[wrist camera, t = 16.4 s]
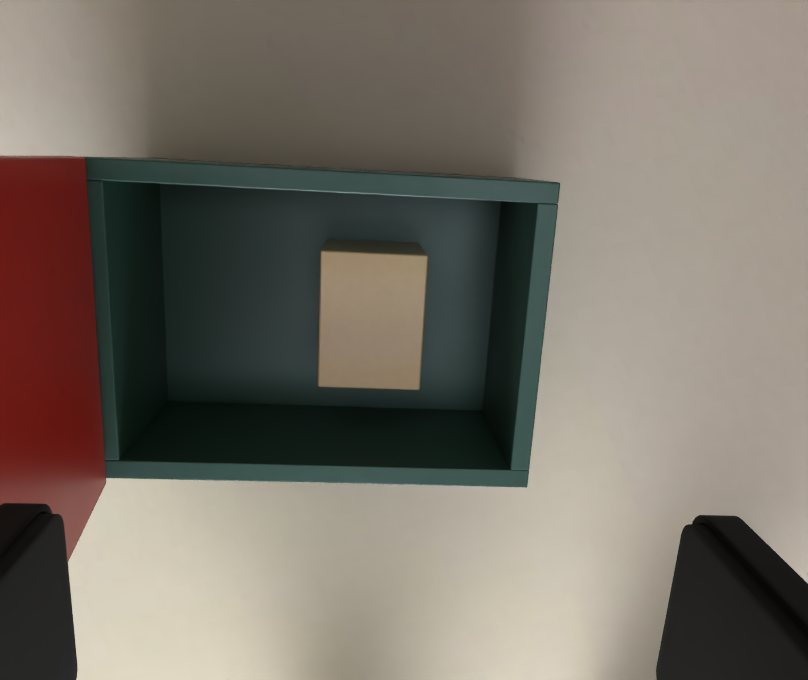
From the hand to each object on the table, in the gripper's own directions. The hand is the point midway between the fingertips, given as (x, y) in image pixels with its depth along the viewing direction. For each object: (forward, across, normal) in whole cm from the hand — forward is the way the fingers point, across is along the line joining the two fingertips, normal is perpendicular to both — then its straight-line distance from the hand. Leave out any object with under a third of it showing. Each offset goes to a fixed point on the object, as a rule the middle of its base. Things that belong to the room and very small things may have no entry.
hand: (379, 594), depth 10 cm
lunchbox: (+24, +2, +1) cm, 25 cm away
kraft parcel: (+24, 0, +1) cm, 24 cm away
